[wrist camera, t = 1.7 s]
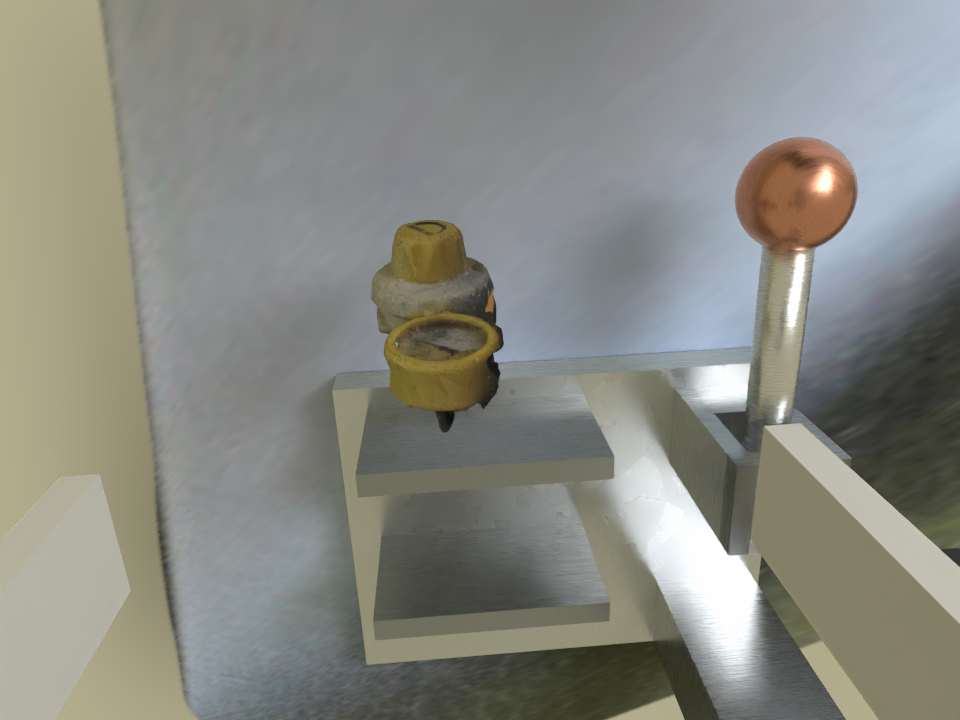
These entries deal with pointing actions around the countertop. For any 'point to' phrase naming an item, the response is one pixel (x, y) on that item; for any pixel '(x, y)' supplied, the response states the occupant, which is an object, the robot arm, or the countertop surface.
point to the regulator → (437, 322)
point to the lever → (787, 262)
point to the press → (575, 525)
